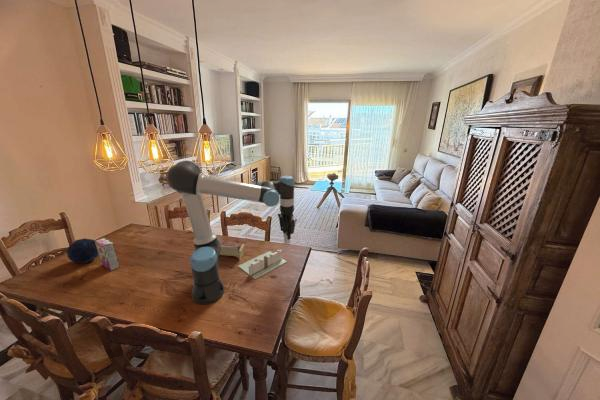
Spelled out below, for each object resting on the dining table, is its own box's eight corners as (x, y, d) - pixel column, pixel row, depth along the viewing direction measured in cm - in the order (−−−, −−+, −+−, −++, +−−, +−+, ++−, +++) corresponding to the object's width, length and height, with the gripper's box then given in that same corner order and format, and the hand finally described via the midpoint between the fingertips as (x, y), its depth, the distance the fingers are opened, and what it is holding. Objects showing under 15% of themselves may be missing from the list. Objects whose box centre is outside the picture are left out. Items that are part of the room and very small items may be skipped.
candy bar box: (101, 265, 140) (94, 240, 134) (111, 261, 144) (104, 237, 138) (110, 271, 134) (103, 246, 129) (120, 267, 138) (113, 242, 133)
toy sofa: (245, 252, 155) (244, 239, 152) (241, 260, 147) (240, 245, 144) (214, 251, 157) (212, 237, 154) (208, 258, 149) (206, 244, 145)
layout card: (254, 279, 130) (254, 278, 130) (238, 266, 141) (238, 265, 141) (287, 261, 146) (286, 261, 146) (269, 251, 157) (269, 250, 157)
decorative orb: (93, 259, 136) (94, 234, 140) (59, 264, 131) (61, 238, 135) (104, 261, 149) (104, 238, 153) (74, 266, 143) (75, 242, 148)
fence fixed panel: (250, 276, 132) (249, 265, 129) (248, 274, 133) (248, 263, 131) (267, 267, 140) (267, 256, 138) (266, 265, 141) (265, 255, 139)
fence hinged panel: (268, 266, 140) (268, 256, 138) (266, 265, 141) (266, 255, 139) (282, 258, 148) (282, 249, 146) (280, 257, 149) (280, 248, 147)
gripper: (300, 206, 125) (300, 245, 133) (283, 200, 134) (283, 237, 142) (290, 209, 120) (290, 250, 128) (273, 203, 129) (274, 241, 137)
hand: (287, 243), depth 135 cm, fingers closed
